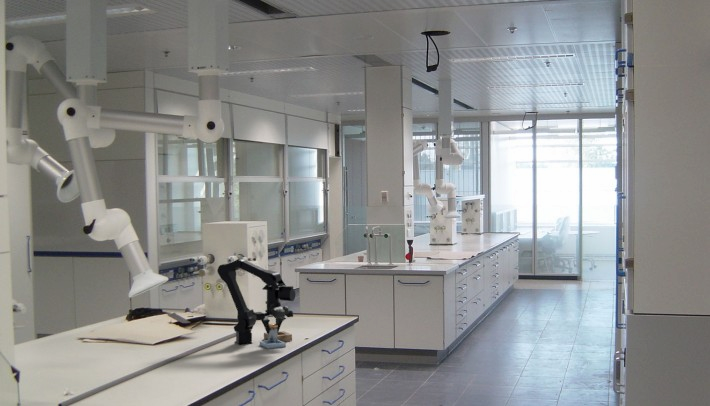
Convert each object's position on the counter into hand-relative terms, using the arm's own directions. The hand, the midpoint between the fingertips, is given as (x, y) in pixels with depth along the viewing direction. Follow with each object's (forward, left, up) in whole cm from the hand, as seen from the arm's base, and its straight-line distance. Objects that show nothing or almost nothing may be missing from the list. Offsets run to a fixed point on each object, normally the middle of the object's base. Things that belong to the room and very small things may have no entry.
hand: (272, 333), depth 339 cm
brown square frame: (+8, +10, -6) cm, 14 cm away
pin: (0, 0, -4) cm, 4 cm away
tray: (0, 0, -6) cm, 6 cm away
